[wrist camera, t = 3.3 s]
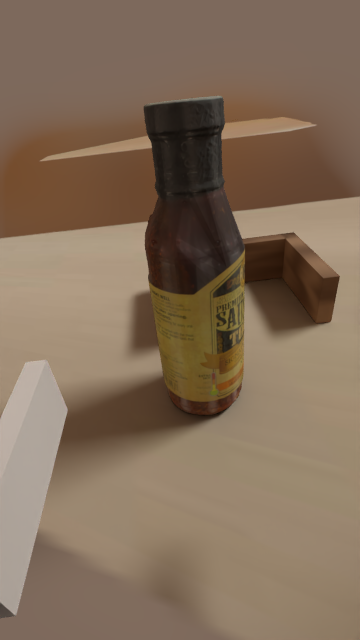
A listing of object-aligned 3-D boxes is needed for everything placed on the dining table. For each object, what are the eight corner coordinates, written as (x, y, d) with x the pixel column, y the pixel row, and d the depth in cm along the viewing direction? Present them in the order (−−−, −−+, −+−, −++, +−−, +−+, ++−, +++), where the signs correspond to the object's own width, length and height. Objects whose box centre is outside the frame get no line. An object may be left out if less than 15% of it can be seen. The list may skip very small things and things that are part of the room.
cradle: (331, 321, 33) (339, 276, 30) (180, 340, 33) (174, 297, 30) (289, 270, 42) (293, 232, 40) (172, 285, 42) (168, 248, 39)
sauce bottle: (237, 426, 24) (236, 94, 13) (156, 413, 26) (92, 110, 15) (247, 364, 29) (253, 89, 18) (179, 357, 31) (145, 101, 20)
